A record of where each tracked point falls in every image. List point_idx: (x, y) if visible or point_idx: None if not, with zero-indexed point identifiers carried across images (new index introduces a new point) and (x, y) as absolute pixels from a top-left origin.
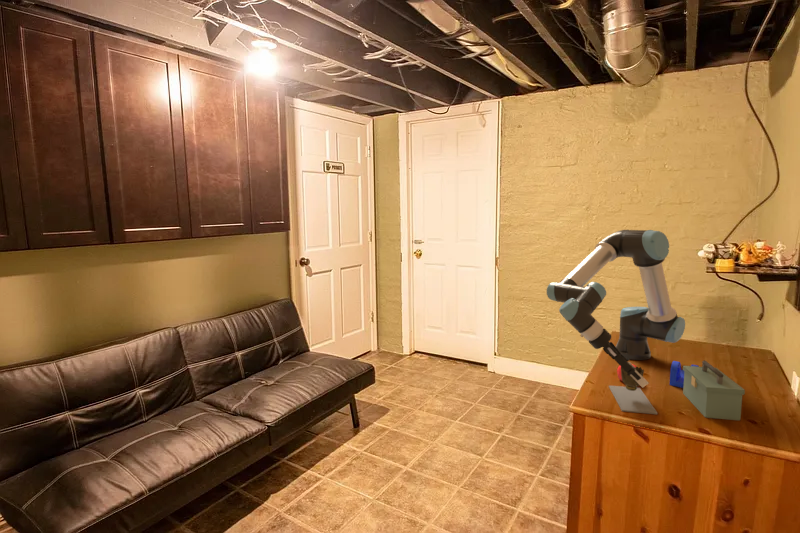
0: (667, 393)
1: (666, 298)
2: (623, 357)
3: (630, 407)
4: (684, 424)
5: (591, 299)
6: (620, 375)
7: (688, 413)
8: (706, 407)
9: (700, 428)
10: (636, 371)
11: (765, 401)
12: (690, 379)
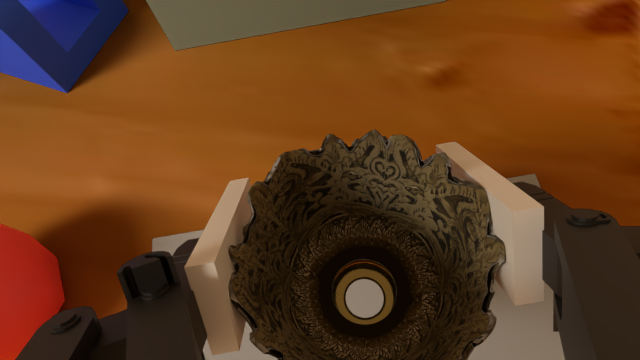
0: (192, 110)
1: None
2: (197, 348)
3: (539, 324)
4: (588, 75)
5: None
6: (2, 357)
7: (431, 51)
8: None
9: (592, 25)
10: (528, 201)
11: None
12: None
